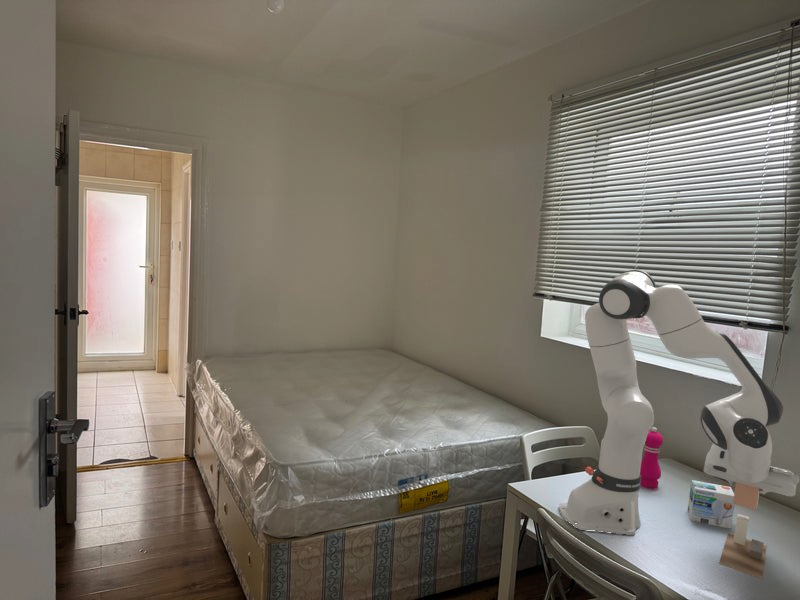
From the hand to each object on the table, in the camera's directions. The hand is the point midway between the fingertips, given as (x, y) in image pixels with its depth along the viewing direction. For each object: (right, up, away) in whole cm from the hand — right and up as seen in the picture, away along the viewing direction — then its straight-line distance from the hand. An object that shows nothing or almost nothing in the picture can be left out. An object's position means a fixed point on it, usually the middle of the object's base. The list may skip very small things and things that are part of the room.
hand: (747, 487), depth 144 cm
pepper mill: (-10, -12, +36) cm, 39 cm away
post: (-1, -15, +1) cm, 15 cm away
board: (-4, -17, -5) cm, 18 cm away
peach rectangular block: (-1, -4, 0) cm, 4 cm away
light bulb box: (-3, -15, +13) cm, 20 cm away
